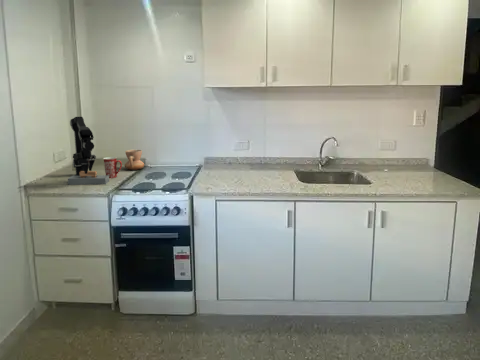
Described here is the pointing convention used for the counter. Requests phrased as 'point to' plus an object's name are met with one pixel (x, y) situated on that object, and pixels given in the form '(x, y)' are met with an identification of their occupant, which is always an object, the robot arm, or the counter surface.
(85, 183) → the rail
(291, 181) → the counter surface
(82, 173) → the tan pronged block
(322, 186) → the counter surface
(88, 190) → the counter surface
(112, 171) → the mug
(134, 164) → the ceramic jug
